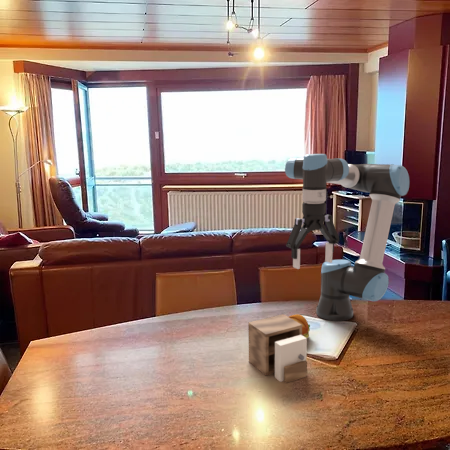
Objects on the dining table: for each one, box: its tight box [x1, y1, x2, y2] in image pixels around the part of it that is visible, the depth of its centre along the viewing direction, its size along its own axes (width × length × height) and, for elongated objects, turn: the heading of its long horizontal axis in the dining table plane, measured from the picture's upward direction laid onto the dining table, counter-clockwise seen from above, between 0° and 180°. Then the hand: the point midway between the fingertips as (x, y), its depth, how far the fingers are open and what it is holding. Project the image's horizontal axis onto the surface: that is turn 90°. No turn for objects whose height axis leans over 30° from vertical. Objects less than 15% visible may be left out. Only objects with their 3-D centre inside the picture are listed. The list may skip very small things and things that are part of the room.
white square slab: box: [274, 335, 308, 383], centre depth 138 cm, size 4×10×12 cm, turn 118°
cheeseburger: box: [288, 313, 311, 339], centre depth 165 cm, size 10×11×10 cm
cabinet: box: [248, 313, 308, 384], centre depth 144 cm, size 17×14×14 cm
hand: (312, 264), depth 148 cm, fingers open, 13 cm apart
